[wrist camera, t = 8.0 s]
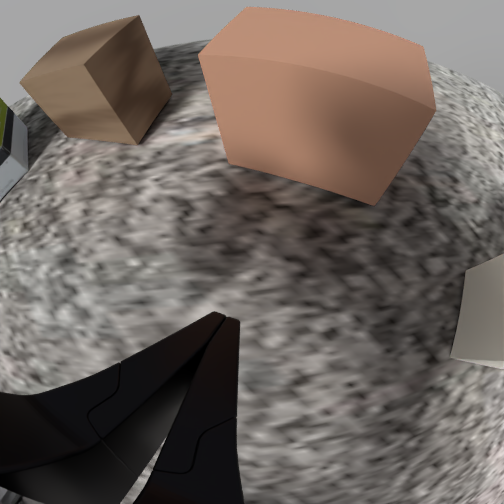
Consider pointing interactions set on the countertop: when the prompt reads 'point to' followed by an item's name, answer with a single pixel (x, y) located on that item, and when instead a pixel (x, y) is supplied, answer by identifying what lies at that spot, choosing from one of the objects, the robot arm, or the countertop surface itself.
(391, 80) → the terracotta block
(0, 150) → the tea box
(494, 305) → the cream block
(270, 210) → the countertop surface
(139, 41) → the walnut block
